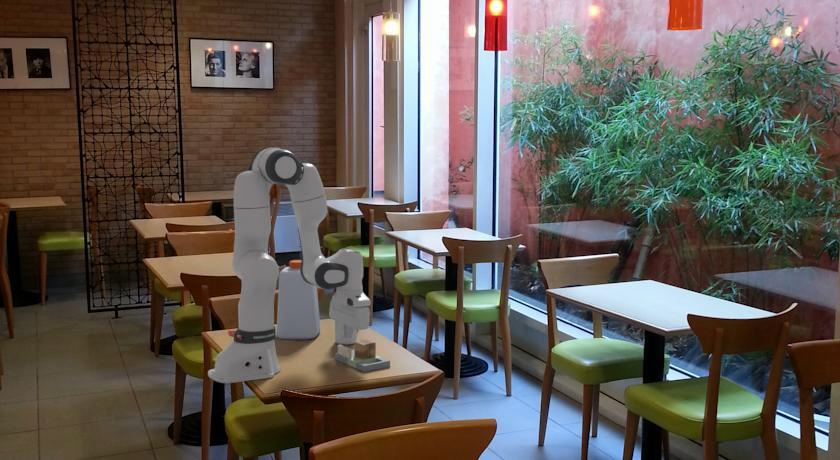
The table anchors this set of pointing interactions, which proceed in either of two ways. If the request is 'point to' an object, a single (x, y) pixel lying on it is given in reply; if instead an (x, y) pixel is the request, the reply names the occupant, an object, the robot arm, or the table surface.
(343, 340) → the milk bottle
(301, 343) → the table surface
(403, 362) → the table surface
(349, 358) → the grey tray
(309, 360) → the table surface
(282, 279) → the plastic bottle
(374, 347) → the block
